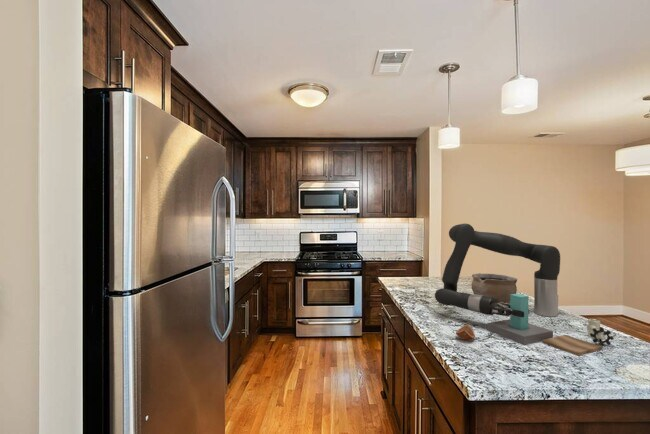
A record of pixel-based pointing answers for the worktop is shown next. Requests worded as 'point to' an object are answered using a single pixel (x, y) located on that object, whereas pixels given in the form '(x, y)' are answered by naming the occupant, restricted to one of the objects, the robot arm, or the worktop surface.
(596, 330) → the valve
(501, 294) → the ceramic bowl
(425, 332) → the worktop surface
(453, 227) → the robot arm
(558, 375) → the worktop surface
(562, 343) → the board
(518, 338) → the grey square socket plate
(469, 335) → the fruit slice
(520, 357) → the worktop surface
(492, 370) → the worktop surface
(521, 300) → the plug
